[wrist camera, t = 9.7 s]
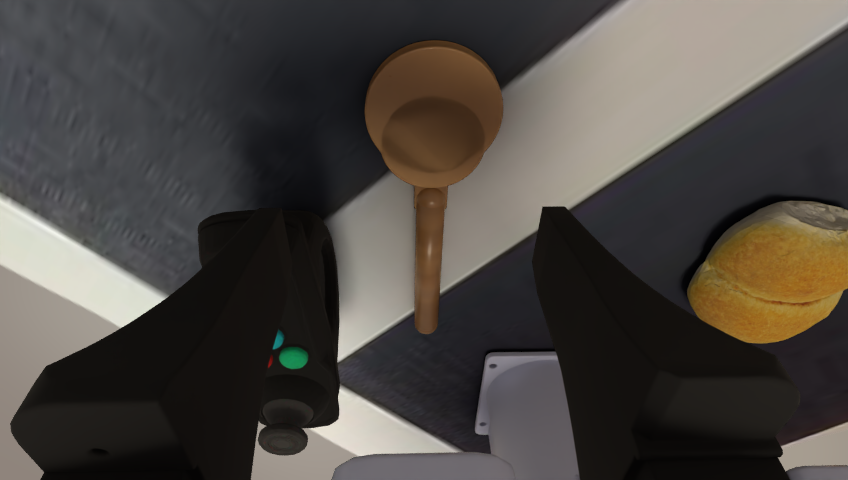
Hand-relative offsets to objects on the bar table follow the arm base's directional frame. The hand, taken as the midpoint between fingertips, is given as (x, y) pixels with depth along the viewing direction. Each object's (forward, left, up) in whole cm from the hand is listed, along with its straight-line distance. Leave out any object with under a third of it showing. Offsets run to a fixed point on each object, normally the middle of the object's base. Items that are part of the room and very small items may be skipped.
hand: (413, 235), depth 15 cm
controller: (-8, +6, -11) cm, 15 cm away
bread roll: (-10, -20, -10) cm, 25 cm away
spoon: (-7, -1, -10) cm, 12 cm away
